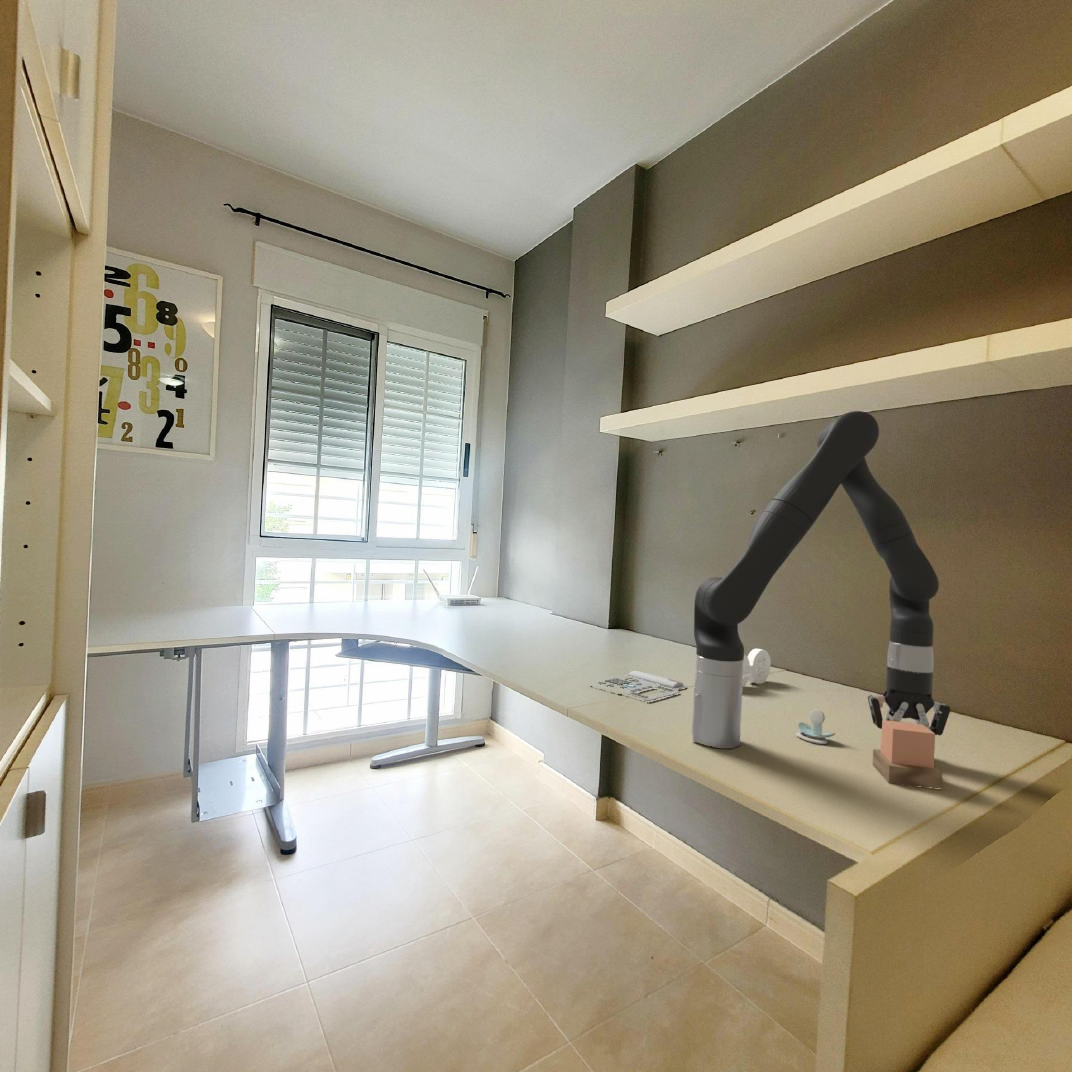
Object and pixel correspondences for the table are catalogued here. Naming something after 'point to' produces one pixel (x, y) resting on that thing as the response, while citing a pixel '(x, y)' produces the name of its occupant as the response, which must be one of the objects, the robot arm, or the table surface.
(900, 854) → the table surface
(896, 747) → the brick terracotta
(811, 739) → the pacifier
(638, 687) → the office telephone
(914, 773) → the base block
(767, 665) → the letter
